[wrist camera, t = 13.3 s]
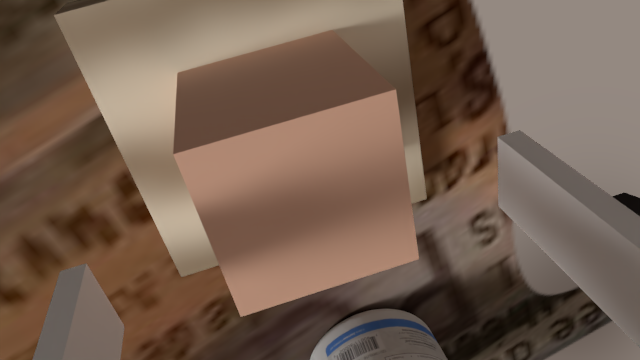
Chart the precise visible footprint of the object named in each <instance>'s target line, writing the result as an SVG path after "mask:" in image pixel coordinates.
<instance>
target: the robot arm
mask: <svg viewBox="0 0 640 360" xmlns="http://www.w3.org/2000/svg"><path fill="white" fill-rule="evenodd" d="M498 204H499V207H500V208H501V209H502V210H503V211H504V212H505V213H506V214H507V215H508V216H509V217H510V218H511V219H512V220H513V221H514V222H515V223H516V224H517V225H518V226H519V227H520V228H521V229H522V230H523V231H524V232H525V233H526V234H527V235H528V236H529V237H530V238H531V239H532V240H533V241H534V242H535V243H536V244H537V245H538V246H539V247H540V248H541V249H542V250H543V251H544V252H545V253H546V254H547V255H548V256H549V257H550V258H551V259H552V260H553V261H554V262H555V263H556V264H557V265H558V266H559V267H560V268H561V269H562V270H563V271H564V272H565V273H566V274H567V275H568V276H569V277H570V278H571V279H572V280H573V281H574V282H575V283H576V284H577V285H578V286H579V287H580V288H581V289H582V290H583V291H584V292H585V293H586V294H587V295H588V296H589V297H590V298H591V299H592V300H593V301H594V302H595V303H596V304H597V305H598V306H599V307H600V308H601V309H602V310H603V311H604V312H605V313H606V314H607V315H608V316H609V317H610V318H611V319H612V320H613V321H614V322H615V323H616V324H617V325H618V326H619V327H620V328H621V329H622V330H623V331H624V332H625V333H626V334H627V335H628V336H629V337H630V338H631V339H632V340H633V341H634V342H635V343H636V344H637V345H638V346H639V347H640V198H638V197H635V196H633V195H629V194H627V193H622V194H619V195H616V196H613V197H612V196H610V195H609V194H608V193H606V192H605V191H604V190H602V189H601V188H599V187H598V186H597V185H595V184H594V183H592V182H591V181H590V180H588V179H587V178H586V177H584V176H583V175H581V174H580V173H578V172H577V171H576V170H574V169H573V168H572V167H570V166H569V165H567V164H566V163H565V162H563V161H562V160H560V159H559V158H558V157H556V156H555V155H553V154H552V153H551V152H549V151H548V150H547V149H545V148H543V147H542V146H541V145H540V144H538V143H537V142H535V141H534V140H533V139H531V138H530V137H528V136H527V135H526V134H524V133H523V132H521V131H520V130H519V131H516V132H512V133H509V134H506V135H503V136H499V137H498ZM123 334H124V325H123V323H122V321H121V320H120V318H119V316H118V315H117V313H116V312H115V310H114V308H113V307H112V305H111V303H110V302H109V300H108V298H107V297H106V295H105V293H104V292H103V290H102V288H101V287H100V285H99V283H98V282H97V280H96V278H95V277H94V275H93V274H92V272H91V270H90V269H89V267H88V265H87V264H83V265H80V266H76V267H73V268H70V269H67V270H63V271H60V274H59V277H58V280H57V284H56V287H55V290H54V293H53V296H52V300H51V303H50V306H49V309H48V312H47V316H46V319H45V322H44V325H43V328H42V332H41V335H40V338H39V341H38V344H37V348H36V351H35V354H34V357H33V360H120V357H121V349H122V341H123Z"/></svg>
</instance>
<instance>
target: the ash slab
mask: <svg viewBox="0 0 640 360" xmlns="http://www.w3.org/2000/svg"><path fill="white" fill-rule="evenodd" d="M54 16H55V18H56V20H57V22H58V24H59V26H60V29H61V31H62V33H63V35H64V37H65V39H66V41H67V43H68V45H69V47H70V49H71V51H72V53H73V55H74V57H75V59H76V61H77V63H78V66H79V68H80V70H81V72H82V74H83V76H84V78H85V80H86V82H87V84H88V86H89V88H90V90H91V92H92V94H93V96H94V98H95V101H96V103H97V105H98V107H99V109H100V111H101V113H102V115H103V117H104V119H105V121H106V123H107V125H108V127H109V129H110V131H111V133H112V136H113V138H114V140H115V142H116V144H117V146H118V148H119V150H120V152H121V154H122V156H123V158H124V160H125V162H126V164H127V166H128V168H129V171H130V173H131V175H132V177H133V179H134V181H135V183H136V185H137V187H138V189H139V191H140V193H141V195H142V197H143V199H144V201H145V203H146V205H147V208H148V210H149V212H150V214H151V216H152V218H153V220H154V222H155V224H156V226H157V228H158V230H159V232H160V234H161V236H162V238H163V240H164V243H165V245H166V247H167V249H168V251H169V253H170V255H171V257H172V259H173V261H174V263H175V265H176V267H177V269H178V271H179V273H180V275H181V277H183V276H186V275H189V274H193V273H196V272H199V271H202V270H205V269H208V268H211V267H215V266H218V265H219V263H218V261H217V258H216V256H215V254H214V251H213V249H212V246H211V244H210V242H209V239H208V237H207V234H206V232H205V230H204V227H203V225H202V222H201V220H200V218H199V215H198V213H197V210H196V208H195V206H194V203H193V201H192V198H191V196H190V194H189V191H188V189H187V186H186V184H185V182H184V179H183V177H182V174H181V172H180V170H179V167H178V165H177V162H176V160H175V158H174V155H173V147H174V128H175V109H176V89H177V73H178V72H182V71H185V70H189V69H193V68H196V67H200V66H203V65H207V64H211V63H214V62H218V61H221V60H225V59H229V58H232V57H236V56H239V55H243V54H247V53H250V52H254V51H258V50H261V49H265V48H268V47H272V46H276V45H279V44H283V43H286V42H290V41H294V40H297V39H301V38H304V37H308V36H312V35H315V34H319V33H322V32H326V31H330V30H333V31H334V32H335V33H336V34H337V35H338V36H340V37H341V38H342V39H343V40H344V41H345V42H346V43H347V44H348V45H349V46H350V47H351V48H352V49H353V50H355V51H356V52H357V53H358V54H359V55H360V56H361V57H362V58H363V59H364V60H365V61H366V62H367V63H368V64H369V65H371V66H372V67H373V68H374V69H375V70H376V71H377V72H378V73H379V74H380V75H381V76H382V77H383V78H384V79H386V80H387V81H388V82H389V83H390V84H391V85H392V86H393V87H394V88H395V89H396V93H397V100H398V108H399V115H400V123H401V130H402V137H403V145H404V152H405V159H406V167H407V174H408V182H409V189H410V196H411V204H412V203H415V202H418V201H422V200H425V199H427V197H426V189H425V181H424V173H423V164H422V156H421V148H420V140H419V131H418V123H417V115H416V107H415V98H414V90H413V82H412V74H411V65H410V57H409V49H408V41H407V32H406V24H405V16H404V8H403V0H79V1H75V2H71V3H67V4H65V5H64V6H63V7H62V8H61V9H60V10H59V11H58V12H57V13H56V14H55V15H54Z"/></svg>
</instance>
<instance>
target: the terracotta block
mask: <svg viewBox="0 0 640 360" xmlns="http://www.w3.org/2000/svg"><path fill="white" fill-rule="evenodd" d="M173 155H174V158H175V160H176V162H177V165H178V167H179V170H180V172H181V174H182V177H183V179H184V182H185V184H186V186H187V189H188V191H189V194H190V196H191V198H192V201H193V203H194V206H195V208H196V210H197V213H198V215H199V218H200V220H201V222H202V225H203V227H204V230H205V232H206V234H207V237H208V239H209V242H210V244H211V246H212V249H213V251H214V254H215V256H216V258H217V261H218V263H219V266H220V268H221V270H222V273H223V275H224V278H225V280H226V282H227V285H228V287H229V290H230V292H231V294H232V297H233V299H234V302H235V304H236V306H237V309H238V311H239V314H240V316H241V317H242V316H245V315H248V314H251V313H254V312H257V311H260V310H263V309H267V308H270V307H273V306H276V305H279V304H282V303H285V302H288V301H291V300H294V299H297V298H300V297H304V296H307V295H310V294H313V293H316V292H319V291H322V290H325V289H328V288H331V287H334V286H338V285H341V284H344V283H347V282H350V281H353V280H356V279H359V278H362V277H365V276H368V275H371V274H375V273H378V272H381V271H384V270H387V269H390V268H393V267H396V266H399V265H402V264H405V263H408V262H412V261H415V260H418V259H419V256H418V248H417V241H416V233H415V226H414V219H413V211H412V204H411V196H410V189H409V182H408V174H407V167H406V159H405V152H404V145H403V137H402V130H401V123H400V115H399V108H398V100H397V93H396V89H395V88H394V87H393V86H392V85H391V84H390V83H389V82H388V81H387V80H386V79H384V78H383V77H382V76H381V75H380V74H379V73H378V72H377V71H376V70H375V69H374V68H373V67H372V66H371V65H369V64H368V63H367V62H366V61H365V60H364V59H363V58H362V57H361V56H360V55H359V54H358V53H357V52H356V51H355V50H353V49H352V48H351V47H350V46H349V45H348V44H347V43H346V42H345V41H344V40H343V39H342V38H341V37H340V36H338V35H337V34H336V33H335V32H334V31H333V30H330V31H326V32H322V33H319V34H315V35H312V36H308V37H304V38H301V39H297V40H294V41H290V42H286V43H283V44H279V45H276V46H272V47H268V48H265V49H261V50H258V51H254V52H250V53H247V54H243V55H239V56H236V57H232V58H229V59H225V60H221V61H218V62H214V63H211V64H207V65H203V66H200V67H196V68H193V69H189V70H185V71H182V72H178V73H177V89H176V109H175V128H174V147H173Z"/></svg>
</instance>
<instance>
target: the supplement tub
mask: <svg viewBox="0 0 640 360" xmlns="http://www.w3.org/2000/svg"><path fill="white" fill-rule="evenodd" d="M310 360H447V358H446V356H445V354H444V353H443V351H442V349H441V347H440V346H439V344H438V342H437V341H436V339H435V337H434V336H433V334H432V332H431V331H430V329H429V328H428V326H427V325H426V324H425V323H424V322H423V321H422V320H421V319H419V318H418V317H416V316H415V315H413V314H411V313H408V312H405V311H402V310H397V309H375V310H369V311H365V312H362V313H359V314H356V315H353V316H351V317H349V318H347V319H345V320H343V321H342V322H340V323H338V324H337V325H336V326H334V327H333V328H332V329H331V330H329V331H328V332H327V333H326V334H325V335H324V336H323V337H322V339H321V340H320V341H319V342H318V344H317V345H316V347H315V349H314V350H313V352H312V355H311V358H310Z"/></svg>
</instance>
